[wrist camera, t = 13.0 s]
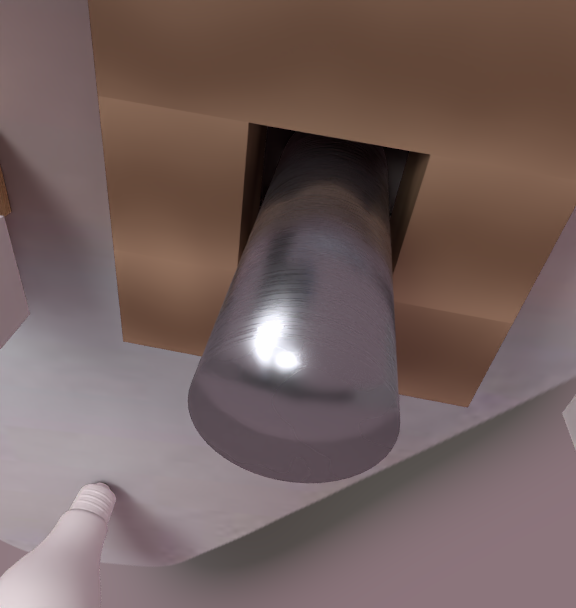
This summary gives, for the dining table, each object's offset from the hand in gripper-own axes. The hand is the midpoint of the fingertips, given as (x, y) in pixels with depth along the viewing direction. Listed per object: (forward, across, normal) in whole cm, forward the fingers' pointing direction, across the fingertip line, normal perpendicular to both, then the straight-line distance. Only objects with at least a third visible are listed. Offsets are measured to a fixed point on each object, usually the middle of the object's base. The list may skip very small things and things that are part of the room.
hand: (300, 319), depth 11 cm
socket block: (+9, 0, -1) cm, 10 cm away
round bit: (+9, 0, -1) cm, 10 cm away
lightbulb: (+9, -11, -26) cm, 30 cm away
